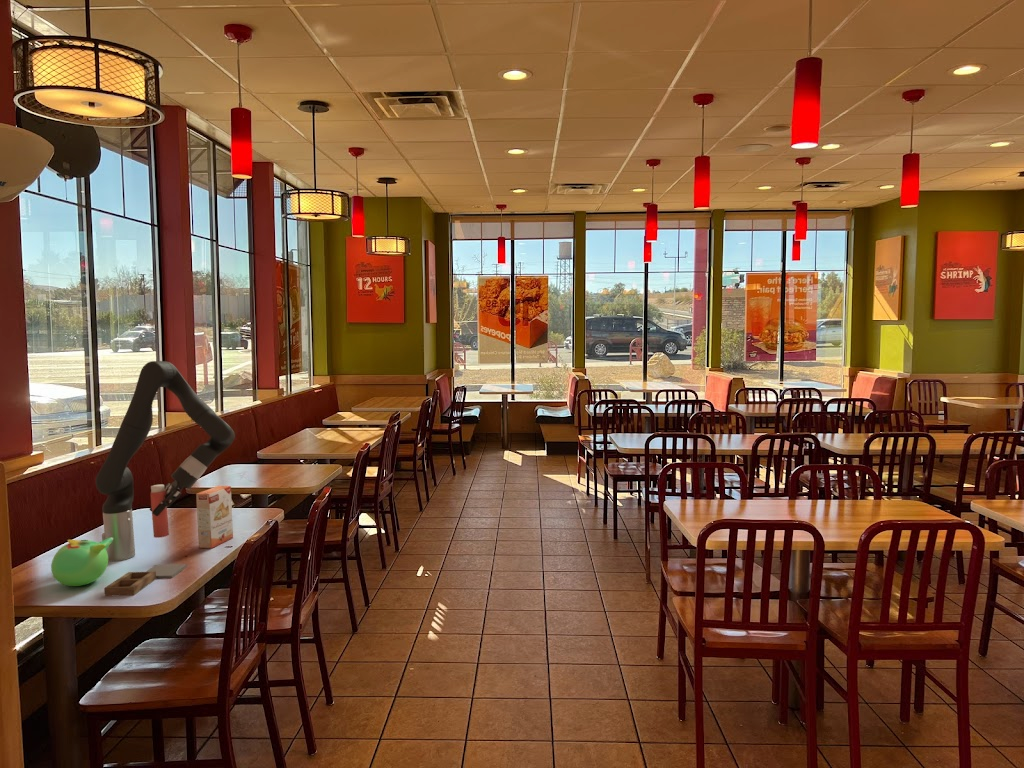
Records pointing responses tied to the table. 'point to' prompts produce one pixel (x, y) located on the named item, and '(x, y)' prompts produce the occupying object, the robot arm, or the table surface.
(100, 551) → the toy bird
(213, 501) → the cracker box
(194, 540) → the table surface
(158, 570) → the slate tile
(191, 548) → the table surface
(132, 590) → the caddy
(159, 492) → the pepper mill
